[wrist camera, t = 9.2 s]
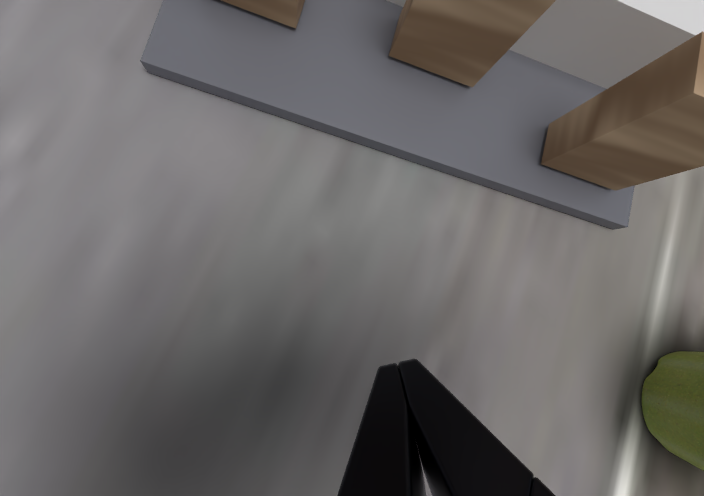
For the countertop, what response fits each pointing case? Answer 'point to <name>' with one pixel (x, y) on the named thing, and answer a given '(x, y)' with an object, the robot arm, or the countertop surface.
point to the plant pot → (677, 405)
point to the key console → (427, 83)
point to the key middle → (462, 34)
